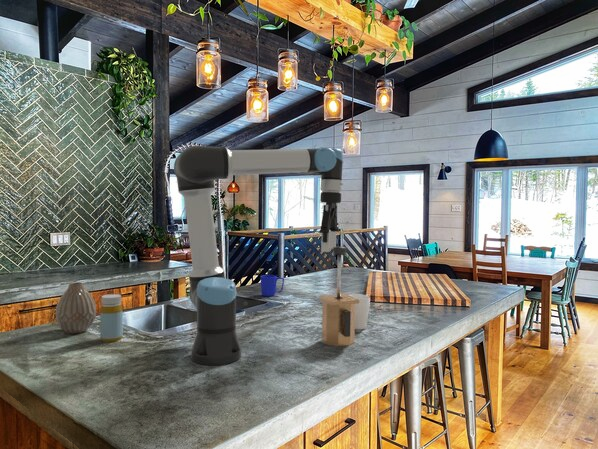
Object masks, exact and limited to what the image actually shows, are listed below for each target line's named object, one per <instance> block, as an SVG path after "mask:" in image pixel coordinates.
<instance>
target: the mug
mask: <svg viewBox="0 0 598 449" xmlns="http://www.w3.org/2000/svg"><path fill="white" fill-rule="evenodd" d="M259 277H260V290H261V295H262V296H263V297H273V296H276V295H275V294H276V293H277V294H278V293H281V292H283V289H284V284H285V278H284V277H277V275H274V274H263V275H260V276H259ZM278 280H282V283H281V284H282V285H281V288H280V290H278V291H277V282H278Z"/></svg>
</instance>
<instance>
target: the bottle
mask: <svg viewBox="0 0 598 449" xmlns="http://www.w3.org/2000/svg"><path fill="white" fill-rule="evenodd" d="M100 300H101V301H100V302H101V307H100V310H99V316H100V318H99V320H100V321H99V322H100V323H99V324H100V326H99V328H100V340H101V341H102V342H104V343H115V342H118V341H121V340H122V338H123V335H124V333H123V332H124V331H123V328H124V326H123V325H124V324H123V322H124V321H123V320H124V319H123V318H124V317H123V316H124V315H123V307H122V294H118V293H113V294H111V293H110V294H104V295H102V296H101V299H100Z"/></svg>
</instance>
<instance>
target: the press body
mask: <svg viewBox="0 0 598 449" xmlns="http://www.w3.org/2000/svg"><path fill="white" fill-rule="evenodd" d="M349 295H350V294H345V293H344V294H343V293H342V294H341V299H337V294H328V295H327V294H326V295H325V294H324V295H318V299H319V300H321V302H322V304H321V306H322V307H321V309H322V310H321V312H322V313H321V342H323V343H324V344H325V345H327V346H328V345H329V346H335V347H345V346H346V347H347V346H351V345H352V344H353V343H355V330H356V329H355V304H357V303H359V300H357V299H355V298H353V297H351V296H349Z"/></svg>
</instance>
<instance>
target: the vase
mask: <svg viewBox="0 0 598 449" xmlns="http://www.w3.org/2000/svg"><path fill="white" fill-rule="evenodd" d="M83 283H84V282H79V281H76V282H70V283H69V284H68V287H67V289H66V290H65V291H64V292H63V294H62V295H61V297H60V298H59V299H58V301H57V305H56V308H55V319H56V323H57V325H58V326H59V328H60V329H61V330H62V331H64V332H65V333H66V334H81V333H84V332H87V330H88V329H89V328H91V326H92V325H93V324H94V322H95V319H96V316H97V306H96V302H95V299H94V298H93V296H92V294H90V293H89V291H88V290H87V289H86V288H85V287H84V284H83Z"/></svg>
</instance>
